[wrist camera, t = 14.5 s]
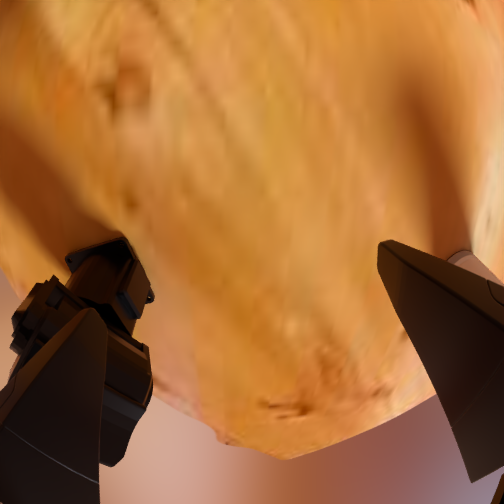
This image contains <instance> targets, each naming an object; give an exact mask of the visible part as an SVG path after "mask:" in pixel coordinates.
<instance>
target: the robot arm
mask: <svg viewBox="0 0 504 504" xmlns="http://www.w3.org/2000/svg"><path fill="white" fill-rule="evenodd" d="M120 242H122V243H123V244H124V245H121V244H120ZM69 258H70V259H71V260H72V261H71V260H70V259H69ZM65 261H66V263H67V265H68V267H69V269H70V270H71V272H72V275H71V277H70V278H69V280H68V281H67V283H66V285H65V286H64V285H63V284H62V283H61V282H59V279H58V278H57V277H56V276H55V275H53V276H52V277H51V279H50V280H49V281H47V280H46V281H45V282H44V284H43V283H36V284H35V286H34V287H33V288H32V290H31V291H30V293H29V294H28V296H27V297H26V298H25V300H24V301H23V302H22V304H21V305H20V306H19V308H17V310H16V311H15V313H14V315H13V316H12V318H11V319H12V325H13V329H14V332H13V334H12V337H13V338H14V339H13V341H12V343H11V345H10V349H11V350H13V351H14V352H15V353H16V354H18V356H17V358H16V360H15V362H14V364H13V366H12V368H11V371H10V374H9V378H8V383H7V385H6V386H5V387H4V388H3V389H2V390H1V391H0V504H100V493H99V492H100V490H99V463H101V464H103V465H106V466H108V467H113V466H115V465H116V464H117V463H118V462H119V461H120V460H121V459H122V458H123V457H124V455H125V452H126V449H127V446H128V442H129V439H130V437H131V434H132V432H133V430H134V428H135V426H136V424H137V422H138V421H139V419H140V418H141V417H142V415H143V414H144V413H145V411H146V408H147V406H148V404H149V402H150V399H151V396H152V392H153V379H152V372H151V364H150V355H149V347H148V346H147V345H145V344H143V343H140V342H138V341H137V340H135V339H134V338H132V334H133V330H134V327H135V323H136V320H137V319H140V318H141V316H142V313H143V309H144V305H145V304H148V303H152V302H153V301H154V298H155V295H154V293H153V291H152V289H151V287H150V285H151V284H150V282H149V280H148V278H147V276H146V274H145V272H144V270H143V268H142V266H141V263H140V261H139V260H137V259H136V257H135V255H134V253H133V251H132V249H131V247H130V244H129V242H128V240H127V239H126V238H124V237H119V238H116V239H113V240H110V241H106V242H103V243H100V244H97V245H93V246H90V247H87V248H84V249H81V250H78V251H75V252H72V253H69V254H67V256H66V257H65ZM377 269H378V272H379V275H380V277H381V279H382V281H383V284H384V286H385V288H386V290H387V293H388V295H389V297H390V300H391V302H392V304H393V307H394V309H395V311H396V313H397V315H398V317H399V319H400V321H401V323H402V325H403V326H404V328H405V330H406V332H407V334H408V336H409V338H410V340H411V342H412V343H413V345H414V347H415V349H416V351H417V353H418V355H419V357H420V359H421V361H422V363H423V365H424V367H425V369H426V371H427V374H428V376H429V378H430V380H431V382H432V384H433V386H434V389H435V391H436V393H437V395H438V397H439V400H440V402H441V404H442V407H443V409H444V411H445V414H446V416H447V418H448V421H449V423H450V426H451V427H452V428H451V429H452V431H453V434H454V436H455V439H456V442H457V444H458V447H459V449H460V452H461V455H462V458H463V461H464V464H465V467H466V470H467V473H468V476H469V479H470V481H471V483H473V482H475V481H477V480H479V479H481V478H483V477H485V476H487V475H489V474H490V473H492V472H494V471H496V470H498V469H499V468H501V467H503V466H504V286H502V285H499V284H497V283H495V282H493V281H491V280H489V279H487V280H486V278H484V277H482V276H479V275H477V274H475V273H473V272H470V271H468V270H466V269H464V268H461V267H459V266H457V265H454V264H452V263H449V262H447V261H445V260H442V259H440V258H437V257H435V256H432V255H430V254H427V253H425V252H422V251H420V250H417V249H415V248H412V247H410V246H407V245H405V244H402V243H399V242H397V241H394V240H386V241H383V242H380V243H379V244H378V256H377ZM147 296H149V297H150V298H148V297H147ZM491 504H504V474H502V476H501V479H500V481H499V484H498V487H497V489H496V492H495V495H494V497H493V499H492V502H491Z"/></svg>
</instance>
